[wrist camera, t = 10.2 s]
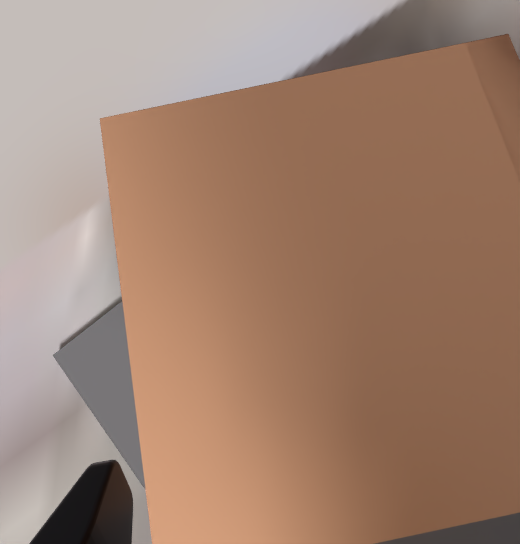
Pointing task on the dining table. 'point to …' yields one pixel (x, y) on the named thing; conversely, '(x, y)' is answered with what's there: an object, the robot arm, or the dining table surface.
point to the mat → (124, 429)
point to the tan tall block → (326, 300)
